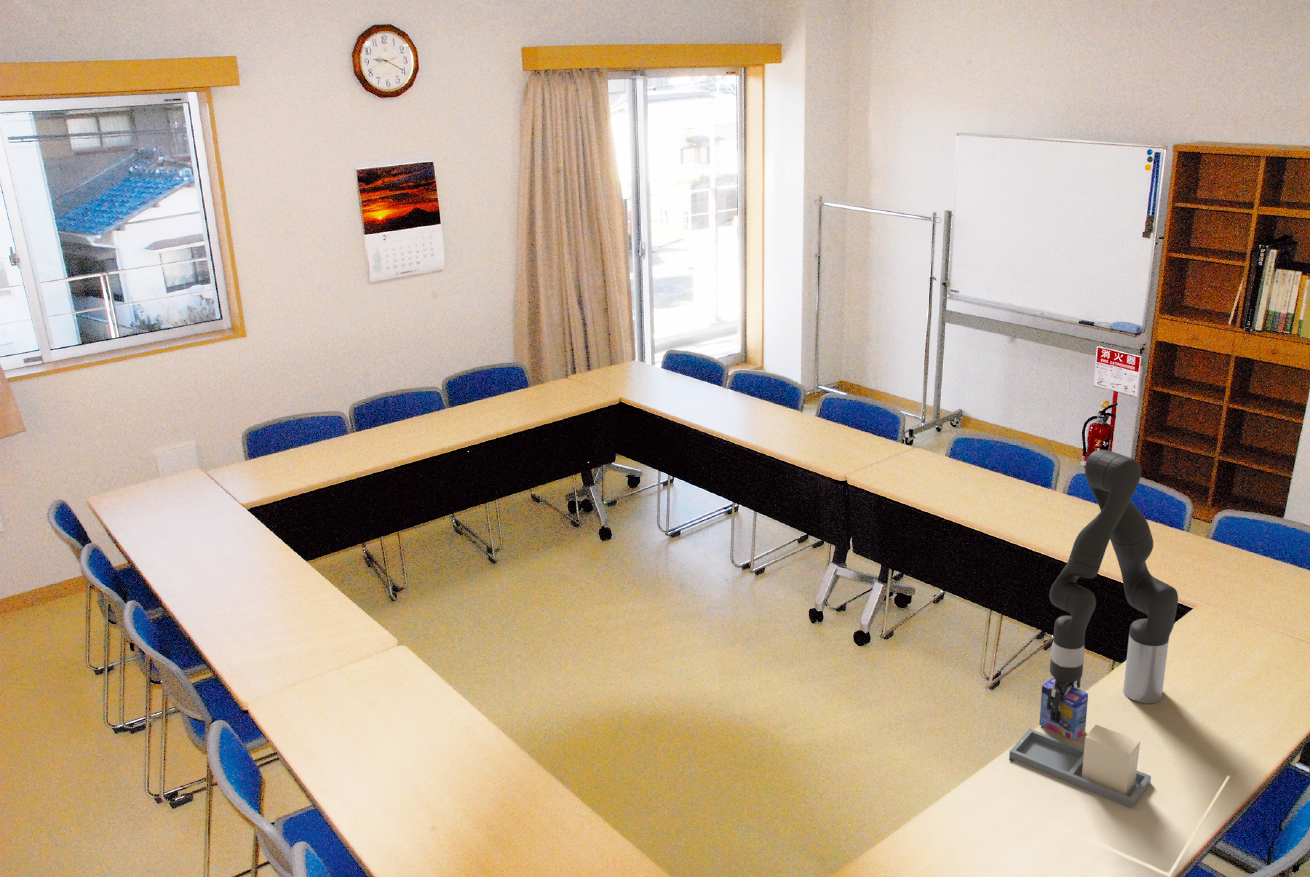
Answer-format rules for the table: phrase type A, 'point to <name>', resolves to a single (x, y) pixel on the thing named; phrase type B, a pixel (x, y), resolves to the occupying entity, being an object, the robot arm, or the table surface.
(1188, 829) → the table surface
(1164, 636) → the robot arm
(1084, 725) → the ink cartridge box
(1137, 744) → the beige box
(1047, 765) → the tray
